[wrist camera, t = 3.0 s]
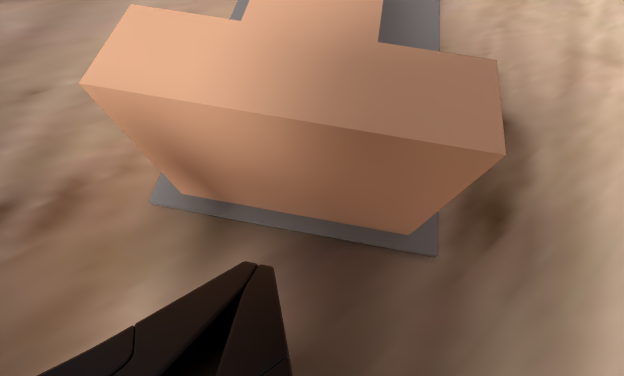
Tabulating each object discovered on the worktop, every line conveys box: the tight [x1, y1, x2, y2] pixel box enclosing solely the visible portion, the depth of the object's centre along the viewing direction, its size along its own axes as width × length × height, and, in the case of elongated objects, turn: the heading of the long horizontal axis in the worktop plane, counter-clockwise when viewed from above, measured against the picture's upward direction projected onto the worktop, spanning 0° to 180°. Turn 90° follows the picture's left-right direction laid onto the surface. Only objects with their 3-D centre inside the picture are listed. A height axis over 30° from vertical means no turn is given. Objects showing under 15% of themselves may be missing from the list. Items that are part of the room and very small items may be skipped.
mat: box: [149, 0, 439, 257], centre depth 20 cm, size 22×15×1 cm
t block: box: [79, 0, 506, 235], centre depth 14 cm, size 12×12×8 cm
